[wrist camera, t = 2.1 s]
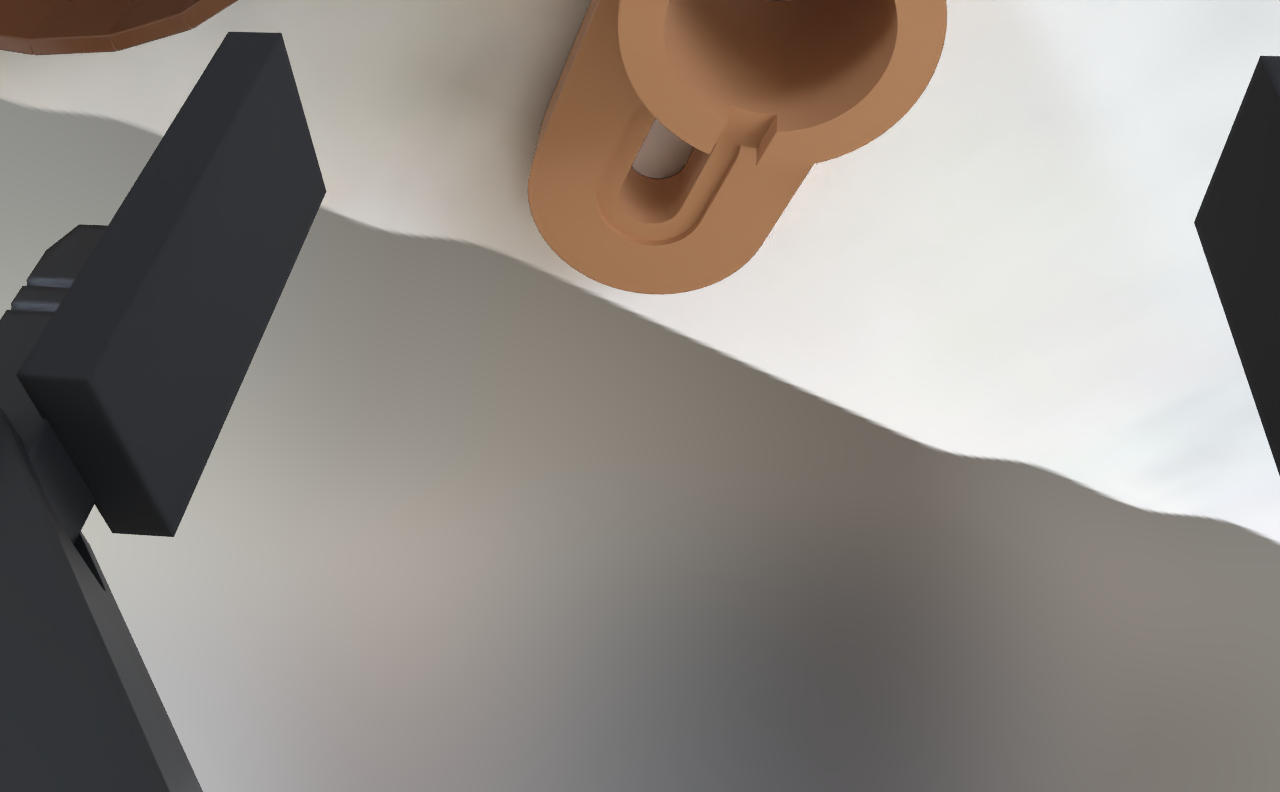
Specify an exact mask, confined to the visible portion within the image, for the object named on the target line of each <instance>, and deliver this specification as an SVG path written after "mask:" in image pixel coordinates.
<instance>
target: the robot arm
mask: <svg viewBox="0 0 1280 792" xmlns="http://www.w3.org/2000/svg"><path fill="white" fill-rule="evenodd" d="M325 193H326V189H325V185H324V182H323V178H322V175H321V171H320V168H319V164H318V160H317V157H316V153H315V150H314V146H313V143H312V139H311V136H310V132H309V129H308V125H307V122H306V118H305V115H304V111H303V108H302V104H301V100H300V97H299V93H298V90H297V86H296V83H295V79H294V76H293V72H292V69H291V65H290V62H289V58H288V55H287V51H286V48H285V44H284V41H283V37H282V33H255V32H228V34H227V35H226V37H225V38H224V40H223V42H222V43H221V45H220V46H219V48H218V50H217V51H216V53H215V55H214V56H213V58H212V59H211V61H210V63H209V64H208V66H207V67H206V69H205V71H204V72H203V74H202V75H201V77H200V79H199V80H198V82H197V84H196V85H195V87H194V88H193V90H192V92H191V93H190V95H189V96H188V98H187V100H186V101H185V103H184V104H183V106H182V108H181V109H180V111H179V113H178V114H177V116H176V117H175V119H174V121H173V122H172V124H171V125H170V127H169V129H168V130H167V132H166V134H165V135H164V137H163V138H162V140H161V142H160V143H159V145H158V147H157V148H156V150H155V151H154V153H153V154H152V156H151V158H150V159H149V161H148V163H147V164H146V166H145V167H144V169H143V171H142V172H141V174H140V175H139V177H138V179H137V180H136V182H135V184H134V185H133V187H132V188H131V190H130V192H129V193H128V195H127V197H126V198H125V200H124V201H123V203H122V205H121V206H120V208H119V209H118V211H117V213H116V214H115V216H114V218H113V219H112V221H111V222H110V224H109V225H108V226H101V225H100V226H99V225H78V226H77V227H75V228H74V229H73V230H72V231H71V232H69V233H68V234H67V235H65V236H64V237H63V238H62V239H60V240H59V241H58V242H56V243H55V244H54V245H53V246H51V247H50V248H49V249H47V250H46V251H45V253H44V255H43V256H42V258H41V259H40V261H39V262H38V264H37V265H36V267H35V268H34V270H33V271H32V273H31V274H30V276H29V277H28V279H27V286H22V288H21V289H20V291H19V292H18V294H17V296H16V297H15V298H14V300H13V301H12V303H11V306H12V308H11V310H7V311H6V312H5V314H4V315H3V317H2V318H1V320H0V792H203V791H202V789H201V787H200V784H199V782H198V780H197V778H196V776H195V774H194V771H193V769H192V767H191V765H190V763H189V761H188V758H187V756H186V754H185V752H184V750H183V747H182V745H181V743H180V741H179V739H178V736H177V734H176V732H175V730H174V728H173V726H172V723H171V721H170V719H169V717H168V715H167V713H166V710H165V708H164V706H163V704H162V702H161V699H160V697H159V695H158V693H157V691H156V688H155V686H154V684H153V682H152V680H151V678H150V675H149V673H148V671H147V669H146V667H145V665H144V662H143V660H142V658H141V656H140V654H139V651H138V649H137V647H136V645H135V643H134V640H133V638H132V637H131V634H130V632H129V630H128V627H127V625H126V623H125V621H124V619H123V617H122V614H121V612H120V610H119V608H118V606H117V604H116V601H115V599H114V597H113V595H112V593H111V590H110V588H109V586H108V584H107V582H106V579H105V578H104V575H103V573H102V571H101V569H100V566H99V564H98V562H97V560H96V558H95V555H94V553H93V551H92V549H91V547H90V545H89V543H88V542H87V540H86V539H85V537H84V536H83V534H82V532H81V529H82V527H83V525H84V523H85V521H86V519H87V517H88V515H89V513H90V511H91V509H92V507H93V506H94V504H95V505H96V507H97V509H98V510H99V512H100V513H101V515H102V517H103V518H104V520H105V522H106V523H107V524H108V526H109V528H110V530H111V531H112V533H120V534H137V535H152V536H167V537H174V535H175V533H176V531H177V528H178V526H179V524H180V522H181V519H182V517H183V515H184V513H185V510H186V508H187V506H188V504H189V501H190V499H191V497H192V494H193V492H194V490H195V488H196V485H197V483H198V481H199V478H200V476H201V474H202V472H203V470H204V467H205V465H206V463H207V460H208V458H209V456H210V454H211V451H212V449H213V447H214V445H215V442H216V440H217V438H218V435H219V433H220V431H221V429H222V427H223V424H224V422H225V420H226V417H227V415H228V413H229V410H230V408H231V406H232V404H233V401H234V399H235V397H236V395H237V392H238V390H239V388H240V386H241V383H242V381H243V379H244V377H245V374H246V372H247V370H248V367H249V365H250V363H251V361H252V359H253V356H254V354H255V352H256V349H257V347H258V345H259V343H260V340H261V338H262V336H263V333H264V331H265V329H266V327H267V325H268V322H269V320H270V317H271V315H272V313H273V311H274V309H275V306H276V304H277V302H278V300H279V297H280V295H281V293H282V290H283V288H284V286H285V284H286V281H287V279H288V277H289V275H290V272H291V270H292V268H293V265H294V263H295V261H296V259H297V256H298V254H299V252H300V250H301V248H302V245H303V243H304V241H305V239H306V236H307V234H308V232H309V229H310V227H311V225H312V223H313V220H314V218H315V216H316V214H317V211H318V209H319V207H320V205H321V202H322V200H323V198H324V195H325ZM1194 223H1195V226H1196V229H1197V232H1198V235H1199V238H1200V241H1201V244H1202V247H1203V250H1204V253H1205V256H1206V259H1207V262H1208V265H1209V268H1210V271H1211V274H1212V277H1213V279H1214V282H1215V285H1216V288H1217V291H1218V294H1219V297H1220V300H1221V303H1222V306H1223V309H1224V312H1225V315H1226V318H1227V321H1228V324H1229V327H1230V330H1231V333H1232V336H1233V339H1234V342H1235V345H1236V348H1237V351H1238V354H1239V357H1240V359H1241V362H1242V365H1243V368H1244V371H1245V374H1246V377H1247V380H1248V383H1249V386H1250V389H1251V392H1252V395H1253V398H1254V401H1255V404H1256V407H1257V410H1258V413H1259V416H1260V419H1261V422H1262V425H1263V428H1264V431H1265V434H1266V437H1267V439H1268V442H1269V445H1270V448H1271V451H1272V454H1273V457H1274V460H1275V463H1276V466H1277V469H1278V472H1279V475H1280V56H1260V58H1259V61H1258V63H1257V66H1256V68H1255V71H1254V73H1253V76H1252V78H1251V81H1250V83H1249V86H1248V89H1247V91H1246V94H1245V96H1244V99H1243V101H1242V104H1241V106H1240V109H1239V111H1238V114H1237V116H1236V119H1235V121H1234V124H1233V126H1232V129H1231V131H1230V134H1229V136H1228V139H1227V141H1226V144H1225V146H1224V149H1223V151H1222V154H1221V156H1220V159H1219V161H1218V164H1217V166H1216V169H1215V171H1214V174H1213V176H1212V179H1211V181H1210V184H1209V186H1208V189H1207V191H1206V194H1205V196H1204V199H1203V201H1202V204H1201V207H1200V209H1199V212H1198V214H1197V217H1196V219H1195V222H1194Z"/></svg>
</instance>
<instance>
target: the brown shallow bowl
mask: <svg viewBox="0 0 1280 792" xmlns="http://www.w3.org/2000/svg"><path fill="white" fill-rule="evenodd" d="M236 1H238V0H0V50H5V51H11V52H18V53H24V54H31V55H34V54H35V55H51V54H72V53H94V52H115V51H117V50H118V51H120V50H123V49H127V48H130V47H133V46H137V45H140V44H144V43H147V42H150V41H154V40H157V39H161V38H164V37H167V36H171V35H174V34H177V33H181V32H184V31H188V30H191V29H193V28H195V27H197V26H199V25H200V24H202V23H203V22H205V21H206V20H208V19H210V18H211V17H213V16H214V15H216V14H217V13H219V12H221V11H222V10H224V9H225V8H227V7H229V6H230V5H232V4H233V3H235V2H236Z"/></svg>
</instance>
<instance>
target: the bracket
mask: <svg viewBox="0 0 1280 792" xmlns="http://www.w3.org/2000/svg"><path fill="white" fill-rule="evenodd" d="M946 26H947V6H946V0H787V1H770V0H591V1H590V4H589V6H588V9H587V11H586V14H585V16H584V19H583V21H582V24H581V26H580V28H579V31H578V33H577V36H576V38H575V41H574V43H573V46H572V48H571V51H570V53H569V55H568V58H567V60H566V63H565V65H564V68H563V70H562V73H561V75H560V78H559V80H558V82H557V85H556V87H555V90H554V92H553V95H552V97H551V100H550V102H549V105H548V107H547V109H546V112H545V115H544V118H543V121H542V125H541V129H540V133H539V137H538V141H537V145H536V149H535V153H534V157H533V161H532V166H531V170H530V175H529V180H528V199H529V205H530V210H531V213H532V216H533V219H534V222H535V224H536V226H537V228H538V230H539V232H540V234H541V235H542V237H543V238H544V240H545V241H546V243H547V244H548V245H549V246H550V247H551V249H552V250H553V251H554V252H555V253H556V254H557V255H558V256H559V257H560V258H561V259H562V260H564V261H565V262H566V263H567V264H568V265H570V266H571V267H573V268H574V269H575V270H577V271H578V272H580V273H582V274H583V275H585V276H587V277H589V278H591V279H593V280H595V281H597V282H600V283H602V284H605V285H608V286H610V287H613V288H617V289H621V290H625V291H630V292H635V293H644V294H675V293H682V292H688V291H692V290H697V289H700V288H703V287H706V286H709V285H712V284H714V283H716V282H719V281H721V280H723V279H724V278H726V277H728V276H730V275H731V274H733V273H734V272H736V271H737V270H739V269H740V268H741V267H742V266H743V265H745V264H746V263H747V262H748V261H749V260H750V259H751V258H752V257H753V256H754V255H755V253H756V252H757V251H758V249H759V248H760V247H761V245H762V244H763V242H764V241H765V239H766V237H767V236H768V234H769V233H770V231H771V230H772V228H773V227H774V225H775V223H776V222H777V220H778V219H779V217H780V216H781V214H782V213H783V211H784V209H785V208H786V206H787V205H788V203H789V202H790V200H791V199H792V197H793V195H794V194H795V192H796V191H797V189H798V188H799V186H800V185H801V183H802V181H803V180H804V178H805V177H806V175H807V174H808V172H809V171H810V169H811V168H812V166H813V164H814V163H819V162H823V161H827V160H830V159H833V158H837V157H839V156H842V155H844V154H847V153H849V152H852V151H854V150H856V149H858V148H860V147H862V146H864V145H866V144H868V143H869V142H871V141H872V140H874V139H876V138H877V137H879V136H880V135H882V134H883V133H884V132H886V131H887V130H888V129H889V128H891V127H892V126H893V125H894V124H896V123H897V122H898V121H899V120H900V119H901V118H902V117H903V116H904V115H905V114H906V113H907V112H908V111H909V110H910V108H911V107H912V106H913V105H914V104H915V103H916V101H917V100H918V99H919V97H920V96H921V94H922V93H923V91H924V90H925V89H926V87H927V85H928V83H929V81H930V79H931V78H932V76H933V74H934V71H935V69H936V67H937V64H938V62H939V59H940V56H941V52H942V49H943V45H944V40H945V34H946ZM655 119H657V120H658V121H659V122H660V123H661V124H662V125H663V126H665V127H666V128H667V129H668V130H669V131H670V132H672V133H673V134H674V135H676V136H677V137H679V138H680V139H681V140H683V141H684V142H686V143H688V144H690V145H691V146H693V147H695V148H694V149H693V151H692V153H691V155H690V157H689V159H688V161H687V162H686V164H685V166H684V168H683V169H682V170H681V171H680V172H679V173H677V174H676V175H674V176H672V177H669V178H664V179H653V178H648V177H645V176H643V175H641V174H639V173H638V172H636V171H635V170H634V169H633V168H632V167H631V166H632V164H633V162H634V160H635V158H636V156H637V154H638V152H639V150H640V148H641V146H642V144H643V142H644V140H645V138H646V136H647V134H648V132H649V130H650V128H651V126H652V124H653V122H654V121H655Z"/></svg>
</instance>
